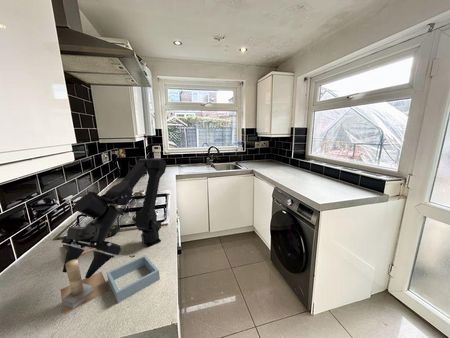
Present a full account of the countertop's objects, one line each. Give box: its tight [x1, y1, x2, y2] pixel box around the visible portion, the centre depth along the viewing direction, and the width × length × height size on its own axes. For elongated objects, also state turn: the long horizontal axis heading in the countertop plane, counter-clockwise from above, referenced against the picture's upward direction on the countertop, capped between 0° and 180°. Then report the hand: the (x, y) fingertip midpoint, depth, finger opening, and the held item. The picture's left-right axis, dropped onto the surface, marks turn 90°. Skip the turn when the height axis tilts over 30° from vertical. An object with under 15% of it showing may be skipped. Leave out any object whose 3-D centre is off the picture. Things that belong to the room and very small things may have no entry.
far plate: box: [60, 271, 110, 315], centre depth 60 cm, size 11×12×1 cm
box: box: [106, 254, 161, 304], centre depth 63 cm, size 13×12×4 cm
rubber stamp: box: [61, 259, 94, 310], centre depth 56 cm, size 6×4×12 cm, turn 162°
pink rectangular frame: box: [63, 243, 98, 258], centre depth 85 cm, size 11×16×2 cm
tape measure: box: [107, 225, 121, 237], centre depth 96 cm, size 7×7×4 cm
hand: (75, 275), depth 56 cm, fingers open, 9 cm apart
